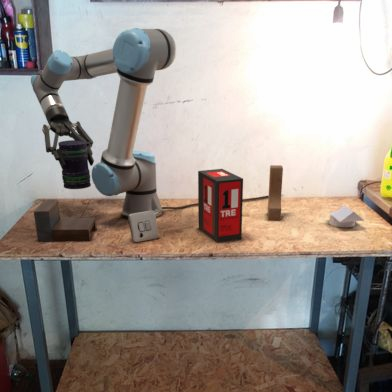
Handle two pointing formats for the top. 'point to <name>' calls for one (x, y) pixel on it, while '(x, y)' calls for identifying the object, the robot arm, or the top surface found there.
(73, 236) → the l-shaped metal base
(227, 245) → the top surface
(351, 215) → the wedge on round base
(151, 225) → the electrical switch
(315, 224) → the top surface
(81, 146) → the blue oil drum
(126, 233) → the top surface
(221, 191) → the cleaning product box
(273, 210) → the wooden block
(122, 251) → the top surface
